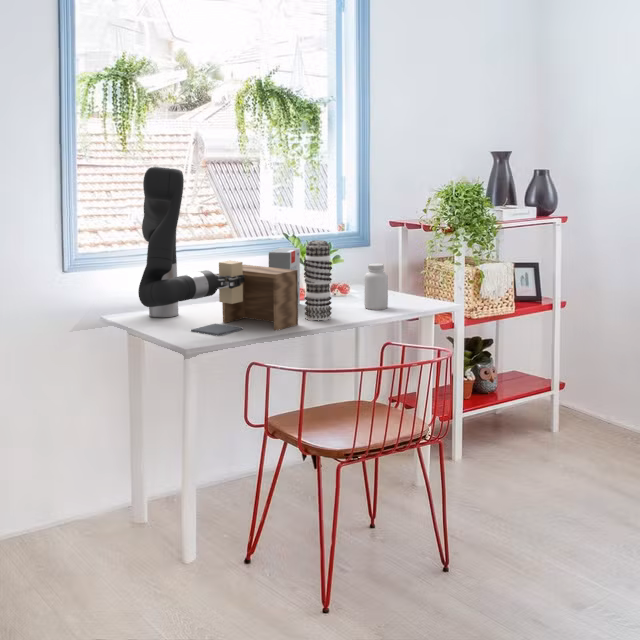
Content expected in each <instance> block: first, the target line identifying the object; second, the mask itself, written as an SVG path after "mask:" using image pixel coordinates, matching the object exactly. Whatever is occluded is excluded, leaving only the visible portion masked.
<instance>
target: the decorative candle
mask: <svg viewBox="0 0 640 640" xmlns="http://www.w3.org/2000/svg"><path fill="white" fill-rule="evenodd" d="M330 247H331V245H330V244H329V243H328V241H327V240H319V239H318V240H317V239H315V240H310V241H308V242H307V244H306V245H305V257H304V259H303V260H304V261H303V265H304V268H303V270H304V273H303V275H304V276H305V278H304V283H305V285H306V288H305V290H306V291H305V297H304V299H305V300H306V301H305V302H304V304H305V305H306V306H305V307H304V310H305V312H304V315H305V317H304V318H306V319H305V320H307V319H308V320H307V321H312V320H318V321H317V322H320V321H319V320H324V321H329V320H331V319H332V311H331V310H332V307H331V304H332V301H331V300H332V296H331V290H330V288H331V286H330V284H331V283H332V278H331V276H332V273H331V272H330V271H331V270H332V269H333V267H332V266H331V265H332V264H333V262H332V261H331V254H330V252H331V251H330ZM328 319H329V320H328Z"/></svg>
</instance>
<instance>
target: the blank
mask: <svg viewBox="0 0 640 640" xmlns="http://www.w3.org/2000/svg"><path fill="white" fill-rule="evenodd" d="M243 265H244V264H243V261H236V260H224V261H219V262H218V274H219V275H221V276H225V275H229V276H231V277H232V276H239V275H243ZM226 282H227V278H226ZM218 291H219V295H218V296H219V297H218V298H219V299H218V300H219V303H222V302H223V303H229V304H234V303H238V302H242V301H243V283H241V286H238V287H235V288H232V289H230V288H229V287H226V288H222V289H218Z"/></svg>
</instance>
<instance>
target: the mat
mask: <svg viewBox="0 0 640 640" xmlns="http://www.w3.org/2000/svg"><path fill="white" fill-rule="evenodd" d="M243 328H244V327H242V326H234V325H226V324H223V323H222V324H221V323H212V324H209V325H208V324H207V325H204V326H199V327H195V328H192V329H191V330H190V332H191V331H193V333H198V332H199V333H198V334H204V333H205V335H210V334H211V336H216V335H217V336H218V337H219V336H223V335H226V334H227V335H228V334H232V333H235V332H238V331H242V330H243ZM217 336H216V337H217Z"/></svg>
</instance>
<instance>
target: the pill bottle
mask: <svg viewBox="0 0 640 640" xmlns="http://www.w3.org/2000/svg"><path fill="white" fill-rule="evenodd" d="M367 266H368V267H367V269H368V272H365V274H364V292H363V293H364V308H365V309H366V308H367V310H371V309H372V310H371V311H373V310H374V311H380V310H381V311H382V310H386V309H387V308H388V307H389V287H388V286H389V275H388V273H387V272H385V266H384V264H383V263H377V262H375V263H369V264H368V265H367Z"/></svg>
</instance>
